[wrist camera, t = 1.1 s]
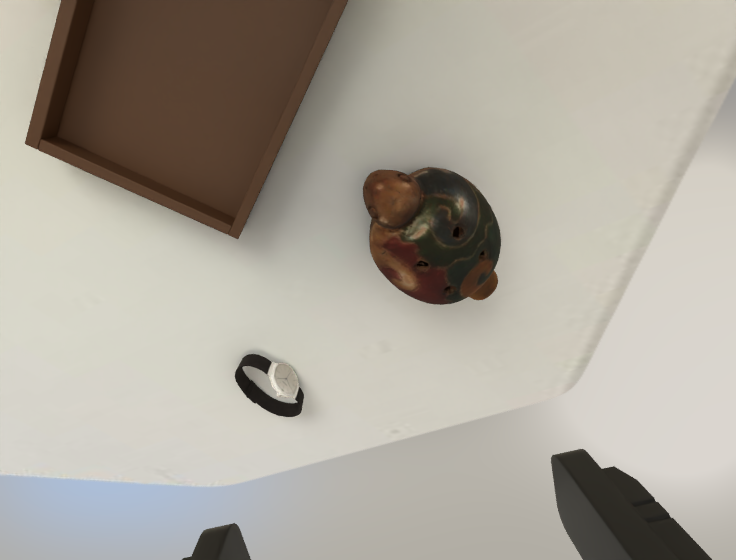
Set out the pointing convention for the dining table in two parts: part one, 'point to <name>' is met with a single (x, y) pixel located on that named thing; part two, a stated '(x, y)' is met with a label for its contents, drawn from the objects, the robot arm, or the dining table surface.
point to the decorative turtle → (432, 234)
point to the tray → (180, 95)
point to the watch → (280, 380)
